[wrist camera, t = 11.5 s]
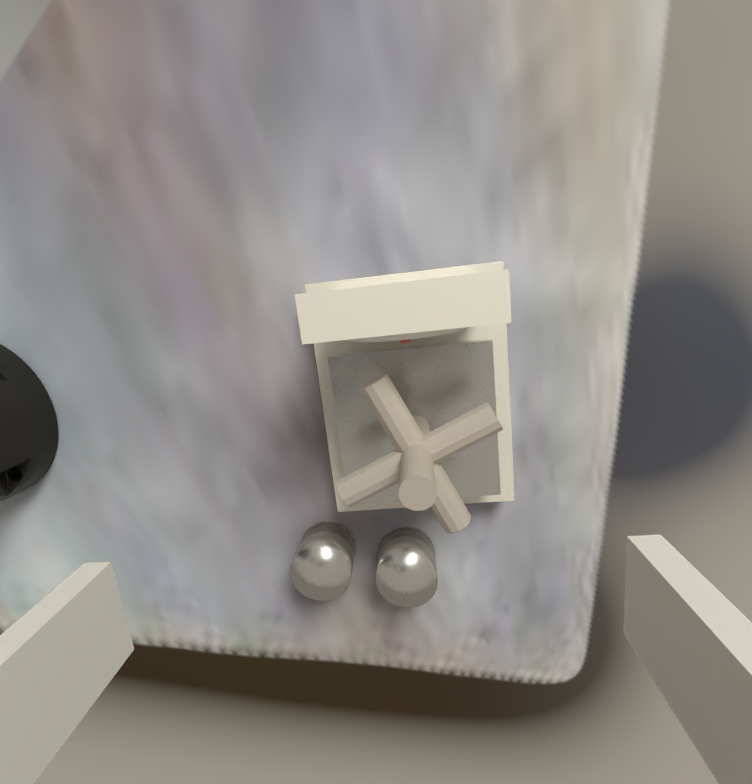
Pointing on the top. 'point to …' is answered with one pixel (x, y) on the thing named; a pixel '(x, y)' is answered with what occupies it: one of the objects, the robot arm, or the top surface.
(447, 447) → the cream toy jack
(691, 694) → the robot arm
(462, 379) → the pan
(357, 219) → the top surface
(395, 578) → the cylinder
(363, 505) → the scale base
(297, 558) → the cylinder
